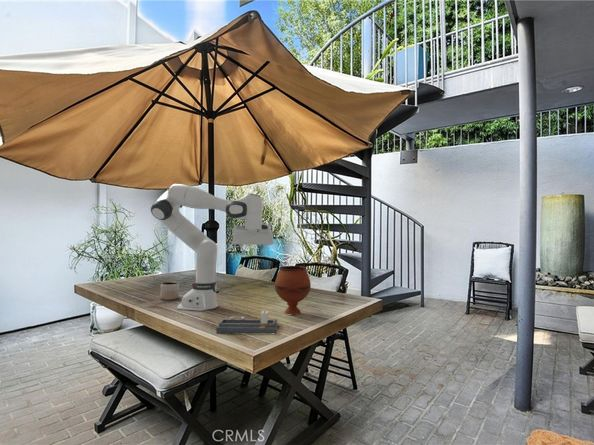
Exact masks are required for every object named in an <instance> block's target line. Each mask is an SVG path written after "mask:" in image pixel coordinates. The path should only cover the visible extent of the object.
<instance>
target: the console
mask: <svg viewBox="0 0 594 445" xmlns="http://www.w3.org/2000/svg"><path fill="white" fill-rule="evenodd" d="M277 327H278V319H276V318H273V319H268V324H261V319H258V318H257V319H253V318H252V319H251V318H249V319H247V318H246V316H241V318H236V317H235V316H230V318H223V317H222V319H220V321H219V322H218V325H217V326H216V327H215V328H216V331H215V333H216V334H225V333H276V334H277V329H278V328H277ZM276 328H277V329H276Z"/></svg>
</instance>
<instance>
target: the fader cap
mask: <svg viewBox="0 0 594 445" xmlns="http://www.w3.org/2000/svg"><path fill="white" fill-rule="evenodd" d="M260 320H261V324H268V320H269V311H268V310H261V312H260Z"/></svg>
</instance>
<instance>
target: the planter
mask: <svg viewBox="0 0 594 445" xmlns="http://www.w3.org/2000/svg"><path fill="white" fill-rule="evenodd" d="M179 289H180V283H179V282H178V281H165V282H160V299H161V300H163V301H171V300H172V301H174V300H176V299H179V297H180V290H179Z"/></svg>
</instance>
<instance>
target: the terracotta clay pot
mask: <svg viewBox="0 0 594 445" xmlns="http://www.w3.org/2000/svg"><path fill="white" fill-rule="evenodd" d="M274 289H275V292H276V294H277V296H278V297H279V298H280V299H281V300H282V301H284V302H286V304H287V308H286V309H285V310H284V314H285V313H286V314H292V315H291V316H295V315H294V314H299V315H301V314H302V312H301V310H300V309H299V308H298V304H299V303H300V302H301V301H303V300H304V299H306V298H307V296H308V295H309V293H310V291H311V279H310V277H309V274H308V271H307V267H306V266H305V265H304V266H303V265H282V266H279V270H278V273H277V276H276V278H275V282H274ZM300 313H301V314H300ZM286 314H285V315H286Z"/></svg>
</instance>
